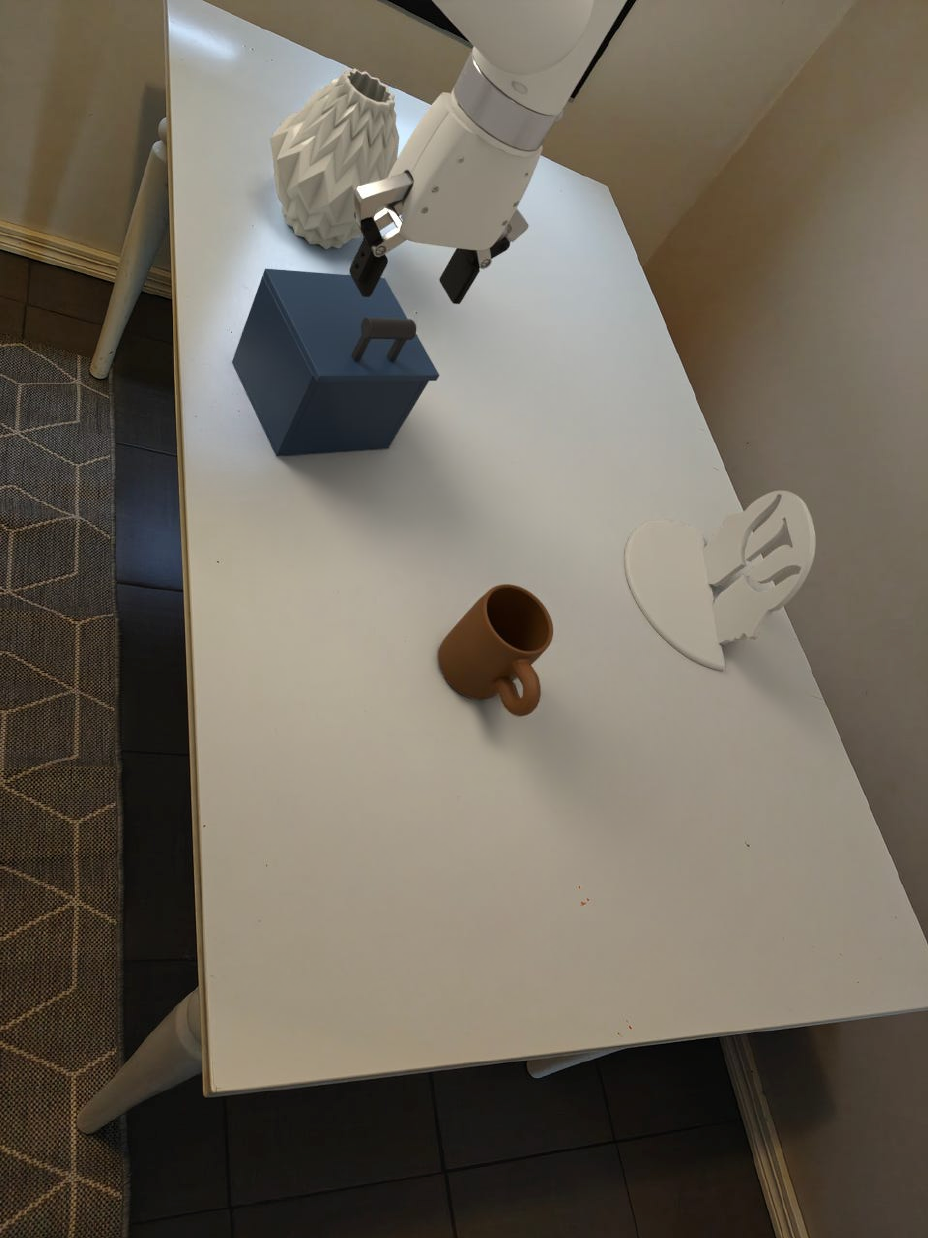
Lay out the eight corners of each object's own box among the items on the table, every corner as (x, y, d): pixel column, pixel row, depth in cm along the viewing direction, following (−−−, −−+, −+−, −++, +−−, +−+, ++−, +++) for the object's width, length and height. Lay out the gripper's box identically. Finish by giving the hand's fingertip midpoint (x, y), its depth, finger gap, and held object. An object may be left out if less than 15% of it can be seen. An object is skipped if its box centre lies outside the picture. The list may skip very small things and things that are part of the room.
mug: (523, 744, 81) (579, 701, 74) (454, 746, 77) (505, 701, 70) (494, 634, 87) (542, 584, 80) (428, 631, 83) (473, 578, 76)
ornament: (723, 672, 101) (834, 598, 88) (632, 641, 96) (734, 558, 84) (699, 532, 113) (793, 450, 101) (617, 498, 109) (705, 408, 97)
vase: (235, 172, 107) (279, 21, 93) (350, 195, 116) (406, 61, 103) (274, 264, 101) (327, 117, 87) (392, 280, 110) (456, 150, 97)
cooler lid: (436, 380, 85) (461, 340, 81) (316, 382, 77) (337, 337, 73) (381, 283, 89) (402, 240, 85) (262, 274, 81) (279, 226, 77)
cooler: (388, 448, 94) (433, 374, 85) (276, 456, 85) (313, 375, 77) (343, 362, 98) (381, 283, 89) (231, 361, 89) (262, 275, 81)
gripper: (562, 96, 69) (462, 267, 81) (386, 42, 58) (302, 248, 71) (607, 159, 67) (497, 325, 79) (433, 115, 56) (337, 315, 68)
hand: (405, 288), depth 75 cm, fingers open, 9 cm apart
